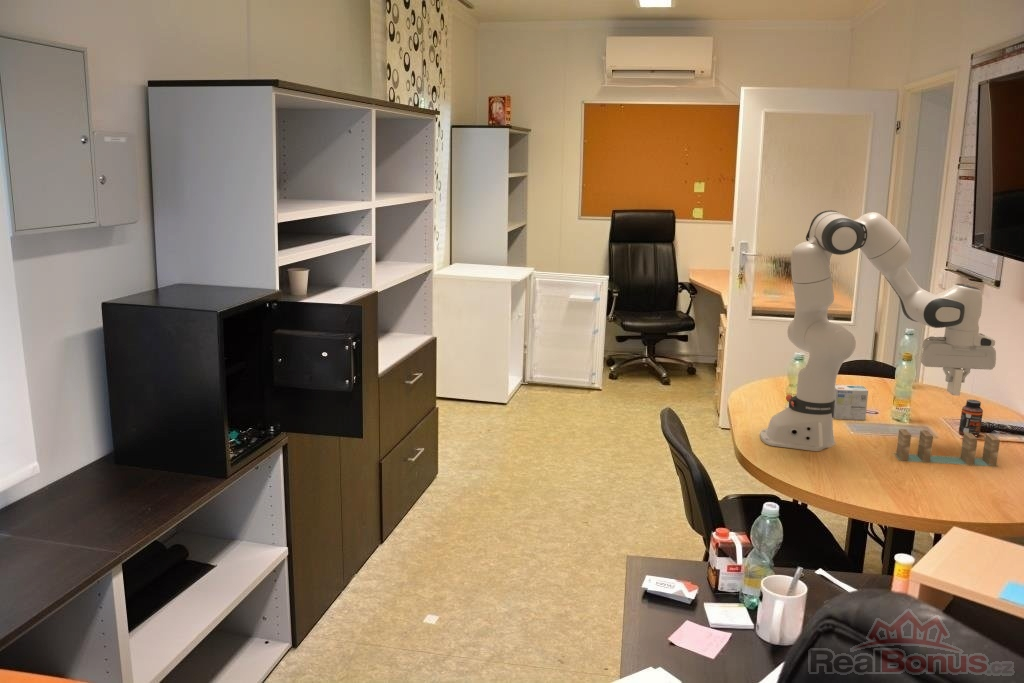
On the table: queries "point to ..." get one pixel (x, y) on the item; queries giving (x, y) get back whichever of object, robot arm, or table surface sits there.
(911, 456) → the felt runner
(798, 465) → the table surface
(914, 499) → the table surface
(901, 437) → the domino
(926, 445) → the domino
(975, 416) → the supplement bottle
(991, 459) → the domino
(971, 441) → the domino
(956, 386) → the domino
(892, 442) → the table surface
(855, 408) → the light bulb box
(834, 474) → the table surface
